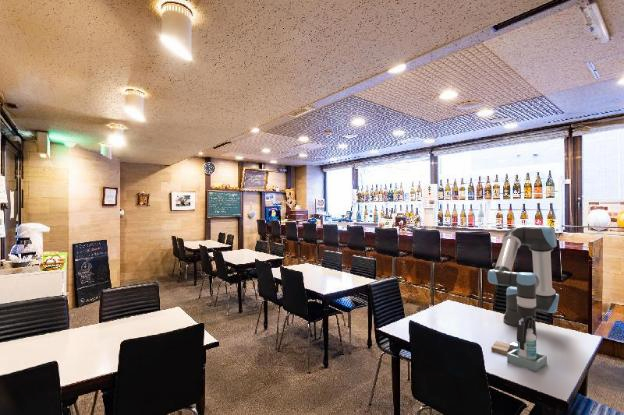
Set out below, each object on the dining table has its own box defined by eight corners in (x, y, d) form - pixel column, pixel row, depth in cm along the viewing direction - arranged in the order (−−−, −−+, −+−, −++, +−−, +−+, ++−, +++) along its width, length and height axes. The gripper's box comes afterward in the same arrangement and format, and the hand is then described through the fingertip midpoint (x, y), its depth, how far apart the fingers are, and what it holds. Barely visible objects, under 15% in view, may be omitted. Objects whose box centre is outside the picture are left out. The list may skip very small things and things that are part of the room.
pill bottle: (528, 361, 144) (527, 332, 144) (513, 354, 151) (513, 326, 151) (540, 359, 146) (540, 330, 146) (525, 352, 153) (525, 325, 153)
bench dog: (513, 351, 160) (513, 342, 160) (519, 354, 157) (519, 344, 157) (509, 354, 158) (509, 344, 158) (516, 356, 155) (516, 346, 155)
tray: (518, 354, 157) (518, 346, 157) (547, 364, 147) (547, 356, 147) (507, 361, 150) (507, 353, 150) (535, 372, 140) (535, 363, 140)
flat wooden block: (496, 345, 169) (496, 340, 169) (511, 349, 164) (511, 344, 164) (491, 351, 161) (491, 347, 161) (507, 356, 157) (507, 351, 157)
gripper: (527, 299, 157) (527, 345, 157) (507, 307, 146) (508, 356, 146) (544, 303, 151) (545, 350, 151) (525, 312, 140) (526, 362, 140)
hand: (526, 353), depth 149 cm, fingers closed on pill bottle, 7 cm apart
